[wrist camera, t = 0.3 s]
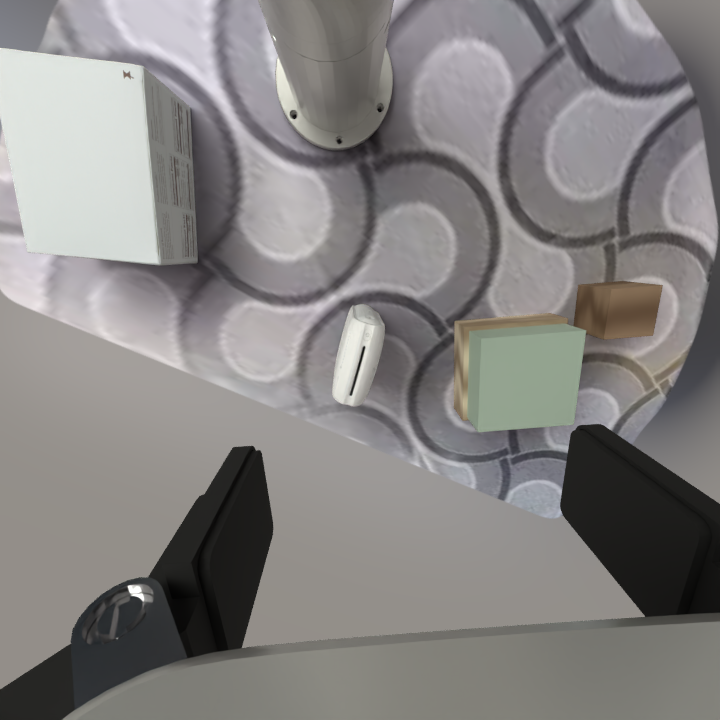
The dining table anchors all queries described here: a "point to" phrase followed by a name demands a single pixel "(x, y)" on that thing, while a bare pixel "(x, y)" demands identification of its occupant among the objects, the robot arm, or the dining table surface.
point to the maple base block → (463, 347)
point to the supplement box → (98, 159)
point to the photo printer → (358, 355)
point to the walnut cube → (617, 309)
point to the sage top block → (524, 376)
